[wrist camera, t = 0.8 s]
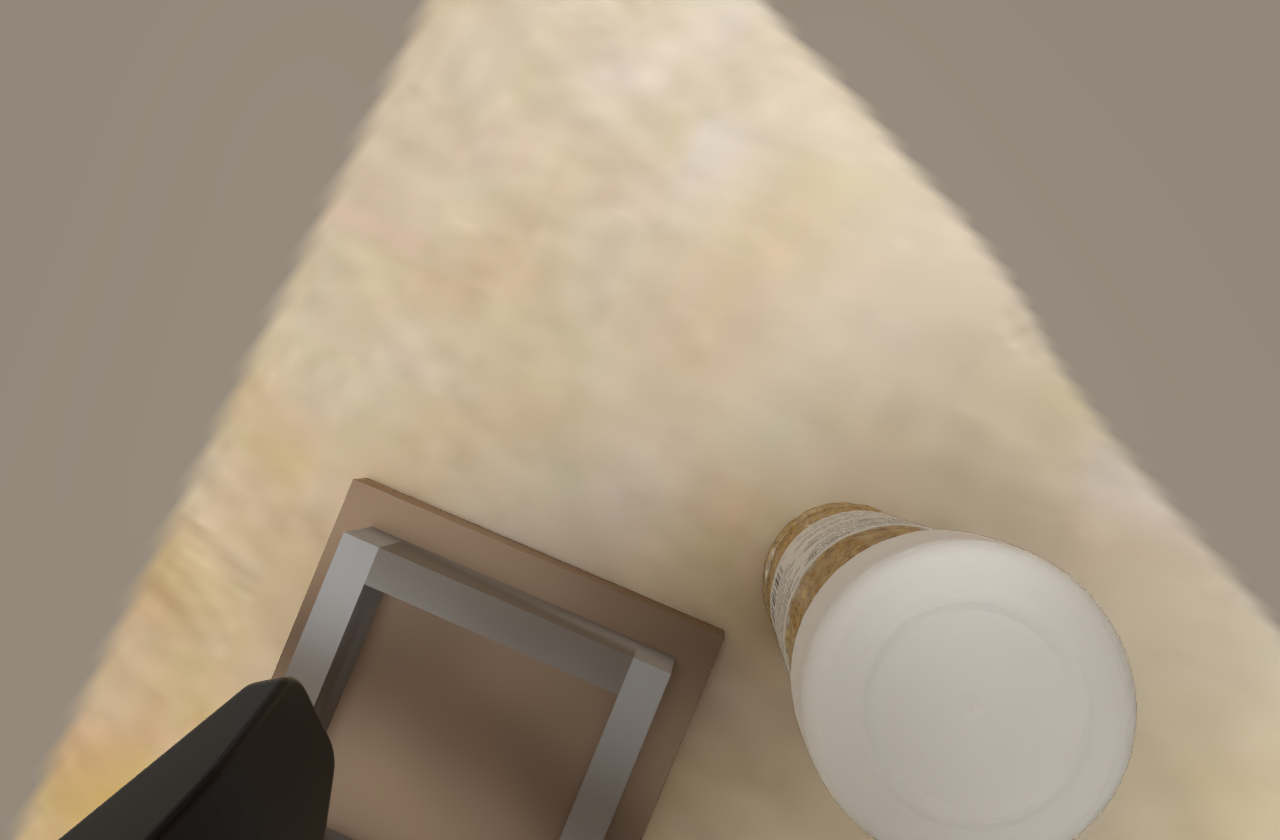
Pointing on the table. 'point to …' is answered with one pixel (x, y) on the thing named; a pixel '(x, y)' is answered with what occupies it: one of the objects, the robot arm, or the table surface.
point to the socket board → (486, 682)
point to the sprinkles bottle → (948, 679)
